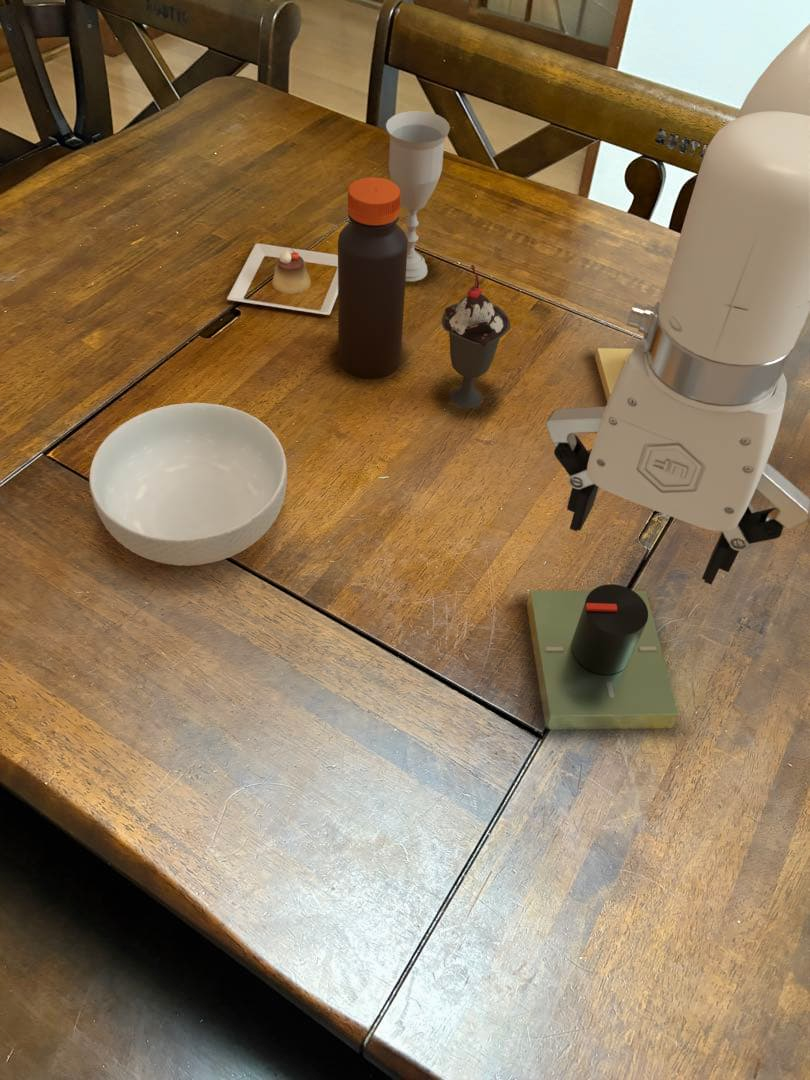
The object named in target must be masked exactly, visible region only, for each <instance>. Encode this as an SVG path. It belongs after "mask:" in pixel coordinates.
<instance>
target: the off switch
mask: <svg viewBox="0 0 810 1080" xmlns="http://www.w3.org/2000/svg"><path fill="white" fill-rule="evenodd" d="M633 349H634V348H621V347H619V348H618V347H617V348H616V347H615V348H614V347H597V348H596V351H595V356H594V359H595V363H596V366H597V370H598V373H599V378H600V381H601V384H602V388H603V391H604V395H605V399H606V404H607V403H608V400H609V398H610V395H611V392H612V390H613V387H614V385H615V383H616V380H617V378H618V376H619V374H620V372H621V370H622V368H623V366H624V364H625V362H626V360H627V359H628V357H629V355H630V354H631V352H632V351H633Z"/></svg>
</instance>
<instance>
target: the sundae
mask: <svg viewBox="0 0 810 1080" xmlns="http://www.w3.org/2000/svg"><path fill="white" fill-rule="evenodd" d="M470 269H471V270H472V272H473V273H474V275H475V281H474V286H472V287H470V288H469V289H468V290H467V295H466V296H465V297H463V298H462V299H461V300H460V301H459V302H458V303H453V304H451V305H449V306H447V307H445V309H444V311H443V313H442V316H441V317H442V318H441V326H442V328H443V330H444V331H446V332H447V333H448V336H449V355H450V361H451V363H450V364H451V367H452V369H453V370H454V371H455V372H456V373H457V374H459V376H461V377H462V383H461V386H458V387H456V388H454V389H453V390H452V391H451V392H450V395H449V399H450V401H451V402H452V403H453V404H455V406H458V407H461V408H463V409H464V408H465V409H471V408H476V407H478V406H479V405H480V404H481V403H482V402H483V400H484V399H483V398H484V397H483V393H482V392H480V391H479V390H478V389H476V388H475V379H477V378H479V377H481V376H483V375H484V374H486V373H487V372H489V370H490V367H491V365H492V363H493V361H494V358H495V355H496V352H497V348H498V345H499V342H500V340H501V338H503V337H504V336H505V335H506V334H507V333H508V332H509V331H510V329H511V326H512V324H511V321H510V319H509V317H508V315H507V313H506V312H505V311H504V310H503V309H502V307H500V306H498V305H495V304H494V303H492V302H491V300H490V299H489V298H488V297H487V296H485V295H483V290H482V288H481V287H480V280H479V276H478V274H477V273H476V271H475V269H476V266H475V265H474V264H472V265H471V266H470Z"/></svg>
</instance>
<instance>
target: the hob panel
mask: <svg viewBox="0 0 810 1080" xmlns="http://www.w3.org/2000/svg"><path fill="white" fill-rule="evenodd" d="M591 591H592V590H529V594H528V598H527V601H526V612H527V615H528V616H527V617H528V624H529V630H530V631H529V632H530V636H531V643H532V650H533V655H534V662H535V668H536V669H535V670H536V675H537V681H538V688H539V694H540V695H539V696H540V700H541V707H542V713H543V714H542V715H543V720H544V726H545V730H614V729H615V730H621V729H623V730H625V729H626V730H628V729H630V730H631V729H632V730H633V729H673V726H674V724H675V723H676V721H677V719H678V718H679V710H678V706H677V703H676V699H675V694H674V691H673V688H672V684H671V680H670V676H669V673H668V669H667V665H666V662H665V658H664V654H663V649H662V645H661V642H660V638H659V634H658V631H657V627H656V622H655V619H654V615H653V611H652V608H651V603H650V600H649V597H648V592H647V590H643V589H642V590H633V591H634V592H635V593H637V594H638V595H639V596H640V597H641V598H642V599H643V601H644V602H645V604H646V606H647V609H648V620H647V623H646V625H645V628H644V630H643V632H642V634H641V637H640V639H639V641H638V643H637V646H636V648H635V650H634V653H633V655H632V657H631V659H630V662H629V664H628V665H627V666H626V667H625V668H624V669H623V670H622V671H620V672H618V673H615V674H609V675H604V674H598V673H594V672H592V671H590V670H588V669H586V668H585V667H583V666H582V665H581V664H580V663H579V662H578V661H577V659H576V658H575V656H574V654H573V651H572V639H573V636H574V633H575V630H576V627H577V624H578V622H579V619H580V616H581V613H582V610H583V607H584V604H585V601H586V598H587V596H588V595H589V593H590V592H591Z"/></svg>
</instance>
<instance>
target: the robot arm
mask: <svg viewBox="0 0 810 1080" xmlns="http://www.w3.org/2000/svg"><path fill="white" fill-rule="evenodd" d="M665 281H666V282H665V286H664V288H663V292H662V294H661V299H660V301H656V303H655V305H654V306H653V305H650V304H647V306H646V305H643V304H639V303H637V302H635V303H634V304H633V306H632V308H631V310H630V313H629V315H628V318H627V322H626V326H628V327H631V328H634V329H637V331H638V333H641V334H643V337H642V338H641V339H640V341H639V342H638V343H637V345H635V347H634V348H632V349H633V351H632V352H631V354H630V355H629V357H628V359H627V360H626V362H625V364H624V366H623V368H622V370H621V372H620V374H619V376H618V378H617V380H616V383H615V385H614V387H613V390H612V392H611V395H610V398H609V400H608V403H607V402H606V406H589V407H588V406H587V407H571V408H570V407H569V408H555V409H553V410H552V412H551V413H550V415H549V417H548V418H547V419H546V421H545V427H546V430H547V433H548V436H549V438H550V441H551V444H553V446H554V451H553V454H554V456H555V458H556V459H557V461H558V462H559V463H560V464H561V466H562V468H563V469H564V470H565V472H566V473H567V475H568V476H569V477H568V479H567V482H568V484H569V486H570V487H571V491H570V495H569V499H568V504H567V507H566V510H567V511H570V512H572V513H573V515H572V519H571V523H570V526H569V530H571V531H574V532H578V531H579V532H580V531H581V530H582V528H583V526H584V524H585V522H586V520H587V518H588V517H589V515H590V513H591V511H592V509H593V507H594V505H595V501H596V498H597V494H598V492H599V489H601V490H603V491H604V492H606V493H609V494H612V495H614V496H615V497H619V498H622V499H623V500H626V501H629V502H631V503H634V504H637V505H640V506H642V507H645V508H647V509H650V510H652V511H655V512H658V513H660V514H663V515H665V516H669V517H671V518H673V519H677V520H679V521H681V522H684V523H688V524H689V525H693V526H695V527H699V528H702V529H705V530H708V531H712V532H713V531H714V532H720V534H719V537H718V539H717V542H716V543H715V545H714V548H713V550H712V552H711V554H710V557H709V560H708V562H707V565H706V567H705V570H704V573H703V575H702V578H701V580H703V583H706V584H708V585H710V586H712V585H713V583H714V580H715V578H716V576H717V574H718V572H719V570H721V571H724V572H726V573H730V570H731V568H732V566H733V565H734V563H735V562H736V561H735V560H736V559H737V557H738V554H739V552H742V551H745V550H747V548H748V547H749V545H751V544H755V543H760V542H761V543H762V542H766V541H770V540H771V541H772V540H775V539H779V538H780V537H781V536H782V533H784V532H786V531H791V530H793V529H794V528H796V527H798V526H800V525H802V524H804V523H806V522H808V521H809V519H810V498H809V497H808V496H807V495H806V494H805V493H804V492H802V491H801V490H800V489H799V488H798V487H797V486H796V485H795V484H793V483H792V482H791V480H789V479H788V478H786V476H784V475H783V474H782V473H781V472H779V471H778V470H777V469H776V468H775V467H774V466H773V465H771V463H769V462H768V460H769V458H770V456H771V452H772V450H773V447H774V445H775V442H776V439H777V436H778V434H779V429H780V425H781V421H782V417H783V414H784V408H785V403H786V397H787V396H786V395H787V389H788V383H787V378H786V376H785V374H784V370H785V368H786V366H787V363H788V362H789V359H790V357H791V354H792V353H793V350H794V348H795V345H796V343H797V340H798V338H799V336H800V334H801V332H802V330H803V327H804V326H805V323H806V321H807V318H808V316H809V314H810V23H809V24H808V25H806V27H804V28H803V30H802V31H801V32H799V33H798V34H797V35H796V36H795V37H794V38H793V39H792V41H790V42H789V43H788V44H787V45H786V47H784V48H783V49H782V51H781V52H779V54H777V56H775V58H773V60H772V61H771V63H769V65H768V66H767V67H766V69H765V70H764V71H763V72H762V73H761V75H760V76H759V77H758V78H757V80H756V82H755V83H754V84H753V86H752V88H751V89H750V90H749V92H748V93H747V95H746V97H745V98H744V101H743V103H742V105H741V107H740V109H739V111H738V113H737V117H736V118H734V119H732V120H731V121H728V123H726V124H725V125H724V126H722V127H721V128H720V129H718V131H717V132H716V134H714V136H713V138H712V139H711V141H710V142H709V144H708V145H707V147H706V150H705V152H704V155H703V158H702V160H701V164H700V168H699V171H698V173H697V177H696V181H695V184H694V187H693V191H692V194H691V197H690V201H689V204H688V208H687V211H686V214H685V218H684V221H683V225H682V227H681V231H680V234H679V238H678V241H677V245H676V248H675V251H674V255H673V258H672V262H671V265H670V268H669V272H668V275H667V278H666V280H665ZM577 434H595V437H594V440H593V445H592V447H591V448H589V449H587V448H586V446H585V445H584V444H583V442H582V441H581V439H580V438H579V437H578V436H577ZM756 491H757V492H758V493H759V494H760V495H761V496H762V497H763V498H765V499H766V501H768V502H769V503H771V505H773V507H772V508H768V509H763V510H759V511H756V510H755V508H754V506H753V505H752V502H751V501H752V499H753V496H754V495H755V492H756Z"/></svg>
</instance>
